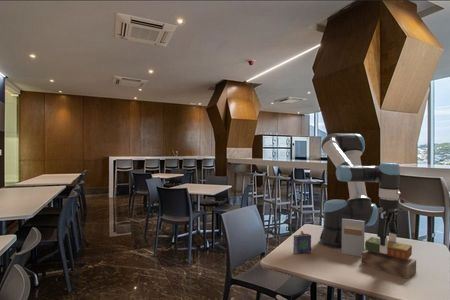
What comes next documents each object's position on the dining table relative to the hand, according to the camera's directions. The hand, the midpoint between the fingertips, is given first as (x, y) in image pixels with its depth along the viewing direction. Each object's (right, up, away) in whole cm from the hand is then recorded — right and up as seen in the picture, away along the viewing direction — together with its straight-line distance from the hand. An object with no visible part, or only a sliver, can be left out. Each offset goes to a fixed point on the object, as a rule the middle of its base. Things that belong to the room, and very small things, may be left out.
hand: (387, 250), depth 118 cm
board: (-8, -7, +15) cm, 19 cm away
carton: (0, -1, 0) cm, 1 cm away
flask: (-33, -7, +15) cm, 37 cm away
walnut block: (0, -7, 0) cm, 7 cm away
